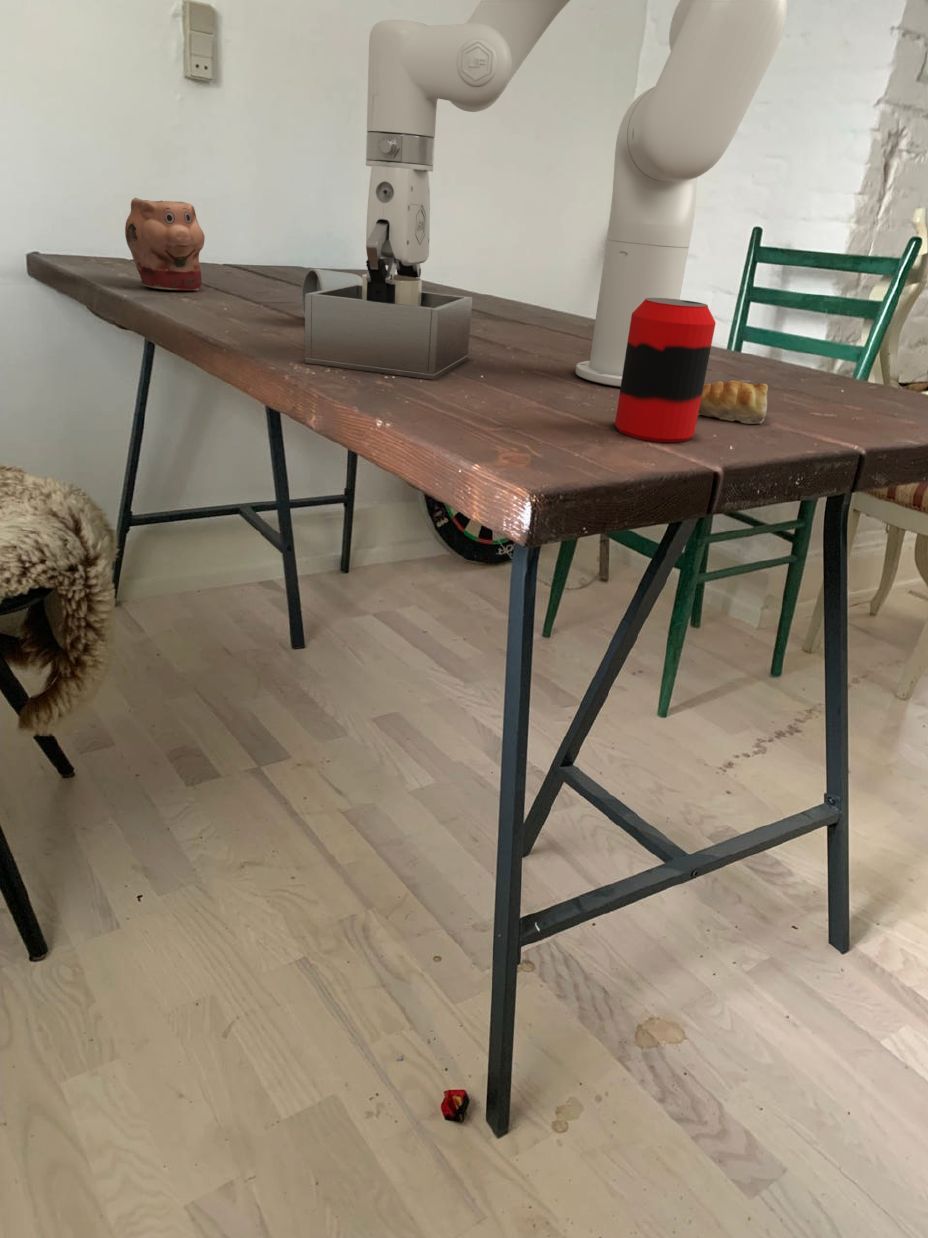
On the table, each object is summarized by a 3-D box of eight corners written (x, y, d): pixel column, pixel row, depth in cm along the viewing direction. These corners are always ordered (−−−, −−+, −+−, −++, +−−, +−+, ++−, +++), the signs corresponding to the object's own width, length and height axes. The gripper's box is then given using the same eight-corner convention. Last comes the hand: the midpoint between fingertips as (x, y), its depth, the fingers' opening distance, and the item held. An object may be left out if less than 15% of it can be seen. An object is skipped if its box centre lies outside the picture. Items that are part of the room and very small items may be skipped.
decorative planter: (109, 280, 159) (102, 192, 153) (175, 280, 166) (171, 197, 160) (157, 295, 146) (151, 200, 140) (226, 295, 153) (224, 205, 147)
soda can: (710, 440, 86) (736, 308, 81) (652, 445, 82) (676, 307, 77) (654, 421, 92) (676, 296, 87) (598, 425, 88) (617, 295, 83)
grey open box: (467, 359, 116) (472, 297, 112) (434, 380, 102) (438, 309, 98) (352, 345, 118) (353, 283, 115) (304, 362, 105) (305, 293, 101)
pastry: (675, 415, 95) (682, 378, 94) (675, 403, 101) (681, 368, 100) (766, 426, 94) (775, 389, 92) (761, 414, 100) (769, 378, 98)
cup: (423, 355, 112) (428, 278, 108) (407, 363, 106) (411, 282, 102) (371, 348, 114) (374, 272, 110) (351, 356, 107) (354, 275, 104)
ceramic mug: (372, 328, 132) (374, 272, 129) (320, 329, 128) (321, 270, 125) (341, 318, 140) (341, 265, 137) (291, 318, 136) (290, 263, 133)
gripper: (409, 152, 92) (401, 327, 99) (452, 160, 107) (442, 311, 115) (339, 146, 94) (336, 319, 101) (392, 155, 109) (386, 305, 116)
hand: (393, 315), depth 108 cm, fingers open, 9 cm apart
